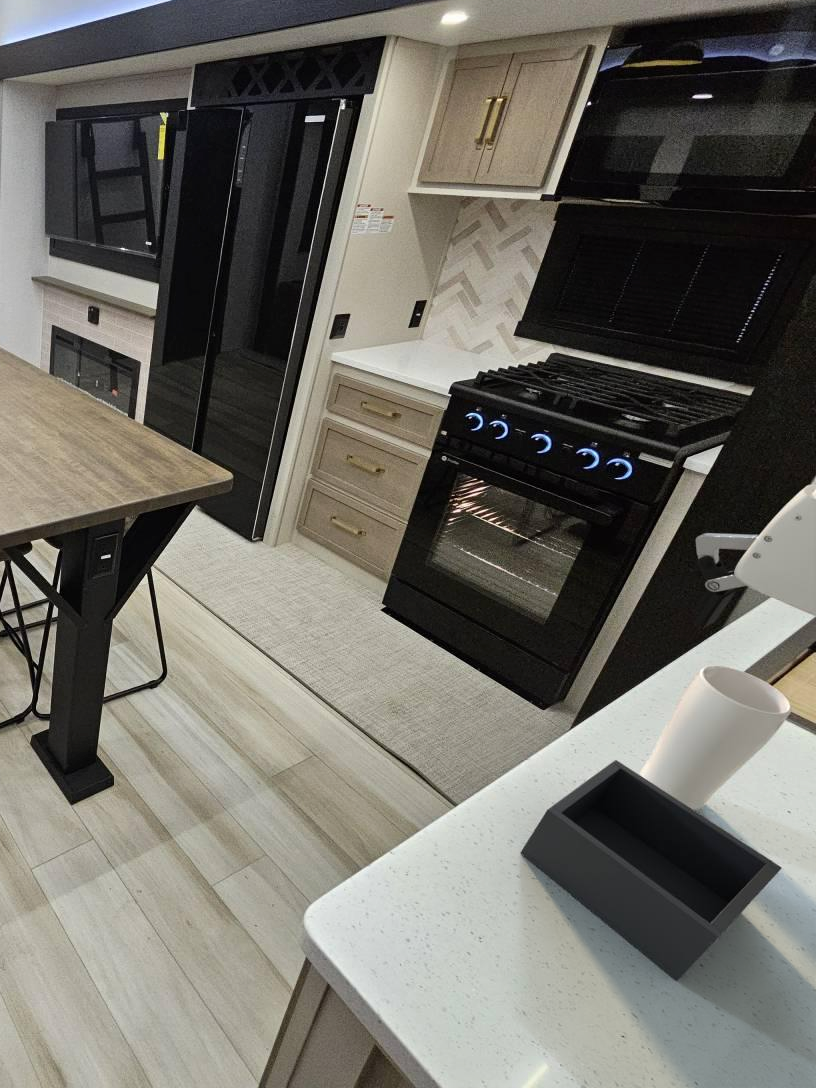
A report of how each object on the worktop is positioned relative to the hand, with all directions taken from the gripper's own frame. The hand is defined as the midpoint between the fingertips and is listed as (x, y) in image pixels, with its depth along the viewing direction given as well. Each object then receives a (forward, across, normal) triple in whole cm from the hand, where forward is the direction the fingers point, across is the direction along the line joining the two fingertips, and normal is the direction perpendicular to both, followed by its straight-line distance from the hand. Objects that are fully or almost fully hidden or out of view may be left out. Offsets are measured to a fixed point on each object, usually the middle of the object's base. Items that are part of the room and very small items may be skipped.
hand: (767, 654), depth 64 cm
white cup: (+20, 0, 0) cm, 20 cm away
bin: (+20, -3, +16) cm, 25 cm away
